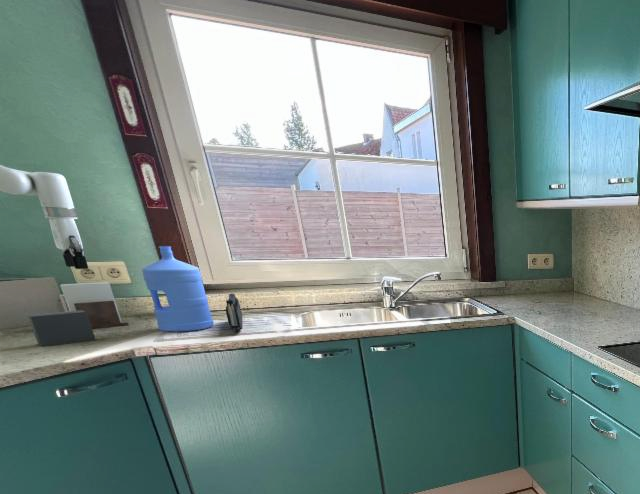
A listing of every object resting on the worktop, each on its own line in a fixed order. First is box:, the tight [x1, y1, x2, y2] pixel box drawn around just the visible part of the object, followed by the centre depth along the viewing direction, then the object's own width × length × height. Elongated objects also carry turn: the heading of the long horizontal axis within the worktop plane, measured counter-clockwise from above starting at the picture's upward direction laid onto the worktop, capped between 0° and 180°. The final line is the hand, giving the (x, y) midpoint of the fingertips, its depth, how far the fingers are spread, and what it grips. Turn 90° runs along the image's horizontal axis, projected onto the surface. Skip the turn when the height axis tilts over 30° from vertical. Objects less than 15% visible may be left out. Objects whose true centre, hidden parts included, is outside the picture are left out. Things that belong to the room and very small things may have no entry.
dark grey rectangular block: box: [26, 310, 97, 347], centre depth 152 cm, size 12×4×9 cm, turn 147°
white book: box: [59, 281, 123, 322], centre depth 173 cm, size 12×2×14 cm, turn 147°
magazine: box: [225, 293, 244, 334], centre depth 181 cm, size 17×3×30 cm
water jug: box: [141, 245, 215, 333], centre depth 172 cm, size 16×16×28 cm
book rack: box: [58, 294, 129, 330], centre depth 174 cm, size 14×12×11 cm
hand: (77, 267), depth 168 cm, fingers open, 9 cm apart
